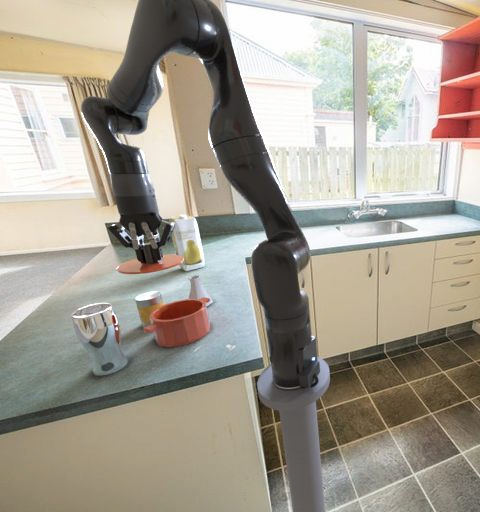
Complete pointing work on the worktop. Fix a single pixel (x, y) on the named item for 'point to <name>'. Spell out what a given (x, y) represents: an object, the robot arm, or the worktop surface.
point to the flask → (198, 289)
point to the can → (148, 305)
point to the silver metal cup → (100, 337)
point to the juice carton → (187, 242)
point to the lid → (149, 262)
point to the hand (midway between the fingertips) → (151, 261)
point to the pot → (180, 322)
